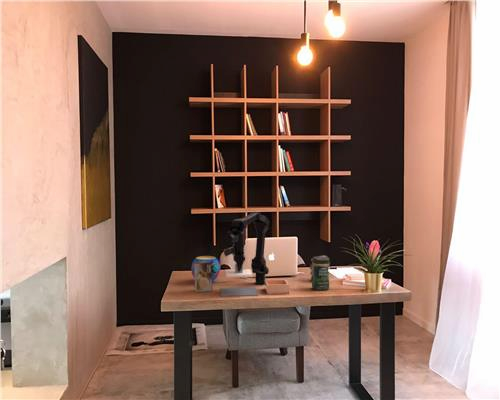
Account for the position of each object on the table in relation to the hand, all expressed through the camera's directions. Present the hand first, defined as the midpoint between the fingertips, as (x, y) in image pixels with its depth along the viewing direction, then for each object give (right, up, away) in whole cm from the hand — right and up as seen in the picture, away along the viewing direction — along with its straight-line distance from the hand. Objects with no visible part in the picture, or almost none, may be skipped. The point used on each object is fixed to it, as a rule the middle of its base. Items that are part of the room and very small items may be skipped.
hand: (238, 270), depth 233 cm
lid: (0, -2, 0) cm, 2 cm away
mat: (0, -12, +1) cm, 12 cm away
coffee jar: (+46, -12, +7) cm, 48 cm away
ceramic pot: (-21, -11, +25) cm, 34 cm away
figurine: (+49, -11, +27) cm, 57 cm away
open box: (+21, -12, +2) cm, 24 cm away
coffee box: (-20, -12, +4) cm, 24 cm away
